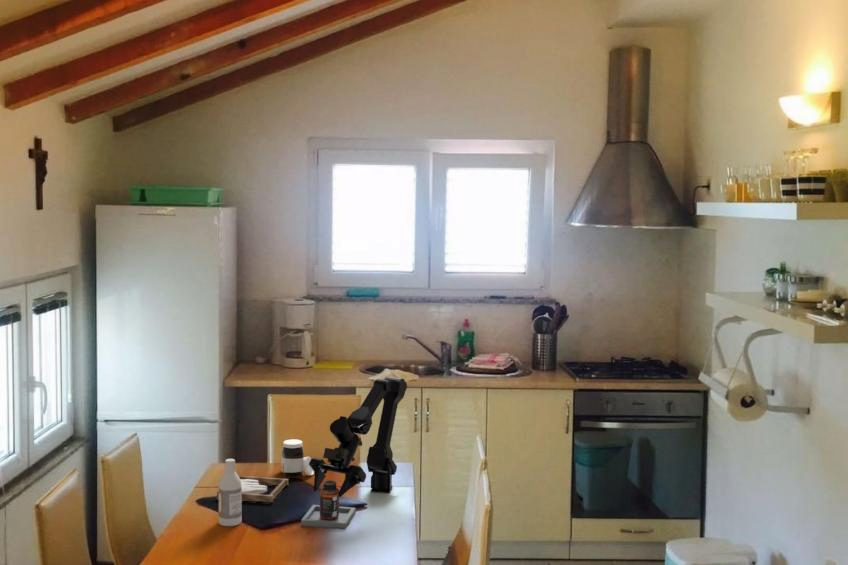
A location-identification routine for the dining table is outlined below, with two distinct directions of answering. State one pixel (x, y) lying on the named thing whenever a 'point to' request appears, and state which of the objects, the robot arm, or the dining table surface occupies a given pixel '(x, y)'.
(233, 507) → the bath foam
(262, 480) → the frame
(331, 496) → the supplement bottle
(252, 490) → the salt and pepper shakers
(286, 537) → the dining table surface
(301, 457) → the spread jar
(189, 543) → the dining table surface
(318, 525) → the tray
